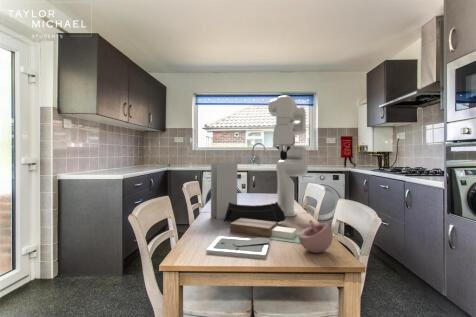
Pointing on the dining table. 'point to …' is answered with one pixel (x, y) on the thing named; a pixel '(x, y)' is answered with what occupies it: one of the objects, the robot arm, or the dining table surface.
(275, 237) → the mat
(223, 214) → the tall grey block
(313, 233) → the mortar and pestle
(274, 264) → the dining table surface
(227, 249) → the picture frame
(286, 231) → the tile
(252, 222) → the block
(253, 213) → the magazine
